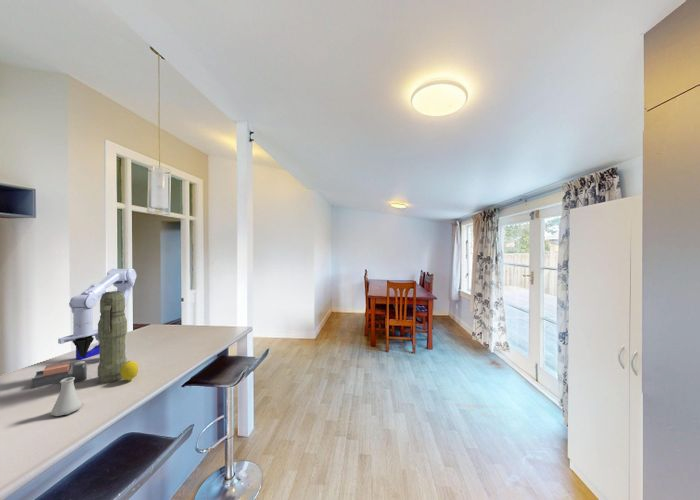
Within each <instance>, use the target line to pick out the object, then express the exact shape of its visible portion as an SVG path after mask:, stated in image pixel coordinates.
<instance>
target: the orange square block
mask: <svg viewBox="0 0 700 500" xmlns="http://www.w3.org/2000/svg"><path fill="white" fill-rule="evenodd" d="M70 362H71V361H70V360H69V361H63V362H58V363H52V364H47V365H46V366H45V367H44V369H43V370H42V371H43V376H47V375H52V374H57V373H62V372H67V371H68V370H69V367H70V365H71V364H70Z"/></svg>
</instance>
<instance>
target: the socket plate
mask: <svg viewBox="0 0 700 500" xmlns="http://www.w3.org/2000/svg"><path fill="white" fill-rule="evenodd" d="M72 366H73V365H71V364H70V367H69V370H68V371H67V372H62V373H57V374H52V375H47V376H43V370H39V371H36V372H35V373H36V374H35V375H34V377H33V378H31V385H30V387H31V388H30V389H37V388H41V387H45V386H51V385H55V384H58V383H59V384H61V383H60V381H61V380H63V379H66V378H70V377H72Z"/></svg>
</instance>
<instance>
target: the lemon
mask: <svg viewBox="0 0 700 500" xmlns="http://www.w3.org/2000/svg"><path fill="white" fill-rule="evenodd" d="M138 373H139V364H138V363H137V362H136V361H133V360H127V362H126V363H125V364H124V365H123V366H122V368H121V371H120V374H121V377H122V378H123V379H122V380H126V381H127V382H128V381H129V382H130V381H132V379H134V378H135V377H136V376H137V375H138Z"/></svg>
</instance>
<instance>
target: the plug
mask: <svg viewBox="0 0 700 500" xmlns="http://www.w3.org/2000/svg"><path fill="white" fill-rule="evenodd" d="M71 366H72V377H74V378H75V379H74V383H75V384H76V383H83V382H84V381H86V380H87V379H88V378H87V377H88V373H87V369H88V368H87V367H88V364H87V361H84V360H80V361H76V362H74V364H72V365H71Z"/></svg>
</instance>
